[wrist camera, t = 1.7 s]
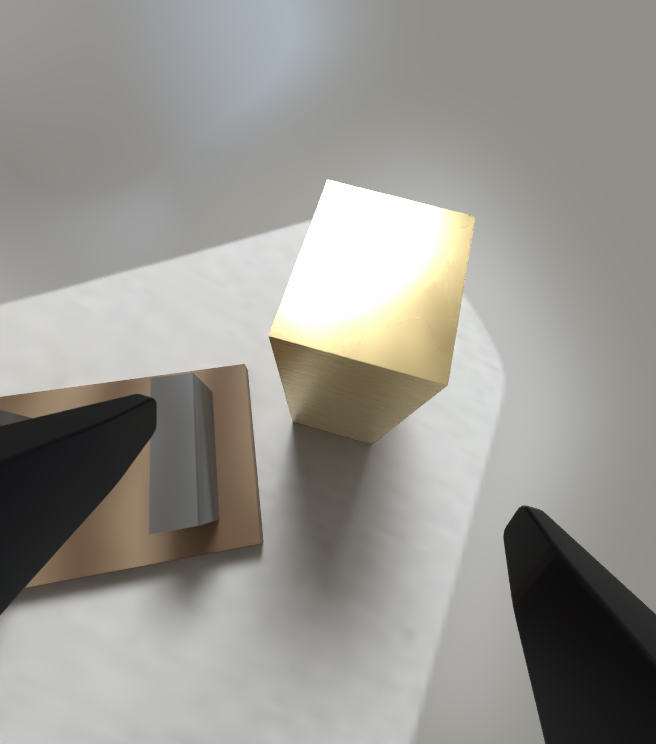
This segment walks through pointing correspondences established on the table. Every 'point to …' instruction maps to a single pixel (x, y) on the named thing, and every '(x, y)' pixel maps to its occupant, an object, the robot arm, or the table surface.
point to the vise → (164, 474)
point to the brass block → (370, 311)
